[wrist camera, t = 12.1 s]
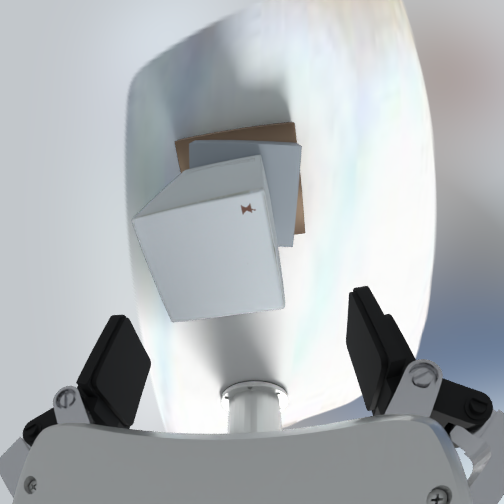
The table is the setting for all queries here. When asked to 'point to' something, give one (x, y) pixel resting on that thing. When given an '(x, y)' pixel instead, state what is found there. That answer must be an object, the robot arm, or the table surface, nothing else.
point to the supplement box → (213, 242)
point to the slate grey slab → (276, 170)
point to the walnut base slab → (256, 133)
